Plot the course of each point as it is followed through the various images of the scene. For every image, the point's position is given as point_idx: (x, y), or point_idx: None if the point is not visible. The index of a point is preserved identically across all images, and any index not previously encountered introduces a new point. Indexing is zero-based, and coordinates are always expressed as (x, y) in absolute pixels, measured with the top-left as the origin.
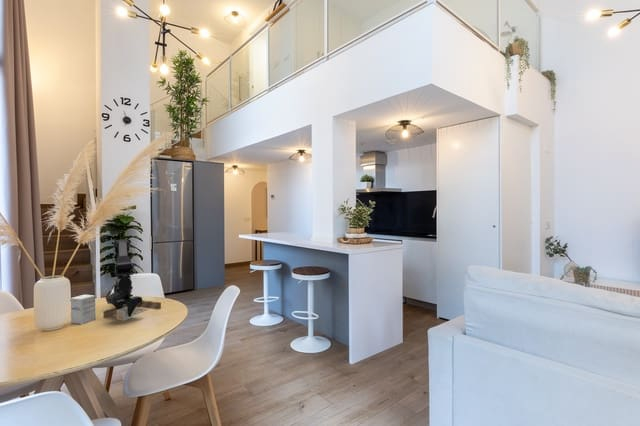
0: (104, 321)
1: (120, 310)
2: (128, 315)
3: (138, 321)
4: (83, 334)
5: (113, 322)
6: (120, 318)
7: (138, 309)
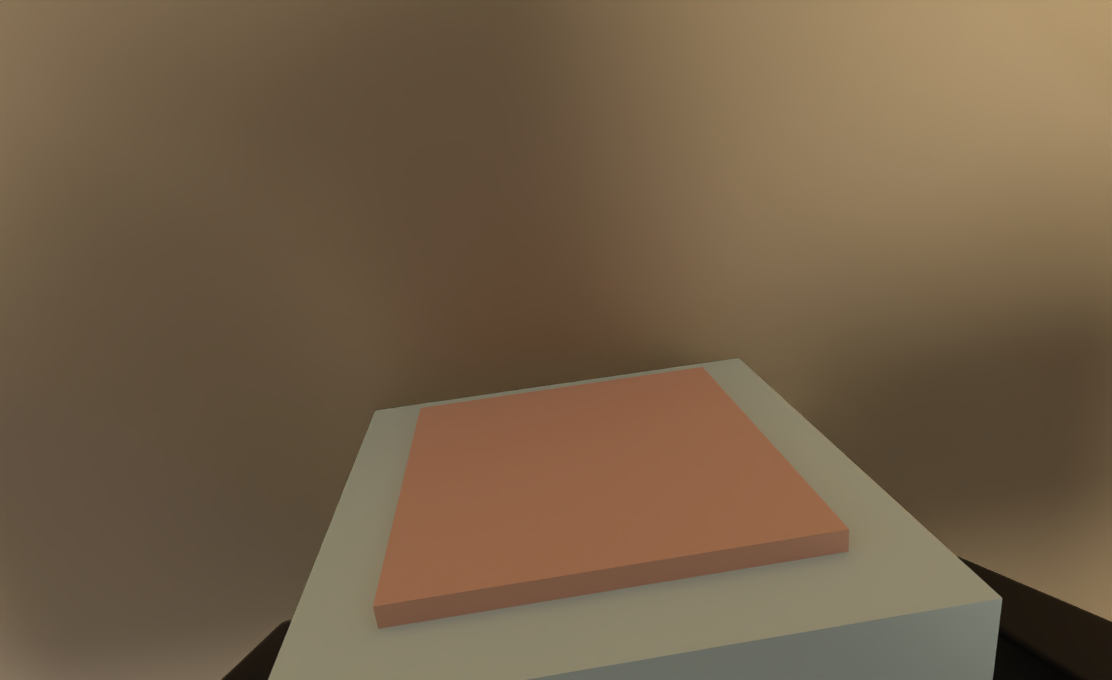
0: (974, 5)
1: (581, 665)
2: None
3: None
4: None
5: (501, 103)
6: (516, 400)
7: None
